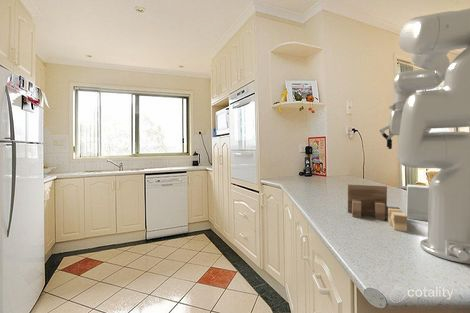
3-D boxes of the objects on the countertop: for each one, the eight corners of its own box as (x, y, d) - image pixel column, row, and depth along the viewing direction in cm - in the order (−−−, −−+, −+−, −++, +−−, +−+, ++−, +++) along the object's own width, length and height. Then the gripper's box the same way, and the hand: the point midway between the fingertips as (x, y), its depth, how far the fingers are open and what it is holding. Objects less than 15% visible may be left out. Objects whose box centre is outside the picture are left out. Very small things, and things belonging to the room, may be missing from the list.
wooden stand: (389, 220, 85) (390, 189, 85) (348, 216, 91) (348, 186, 90) (385, 215, 92) (386, 186, 91) (347, 211, 98) (347, 184, 97)
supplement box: (431, 221, 83) (432, 188, 83) (406, 218, 88) (406, 186, 87) (429, 217, 89) (430, 185, 89) (406, 213, 94) (406, 183, 93)
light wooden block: (407, 231, 74) (407, 216, 74) (393, 229, 75) (393, 214, 75) (398, 220, 85) (398, 207, 84) (386, 219, 86) (386, 206, 86)
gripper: (381, 107, 93) (380, 149, 93) (434, 104, 86) (433, 148, 86) (378, 110, 100) (378, 149, 100) (427, 107, 92) (427, 148, 93)
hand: (403, 148), depth 93 cm, fingers open, 9 cm apart
